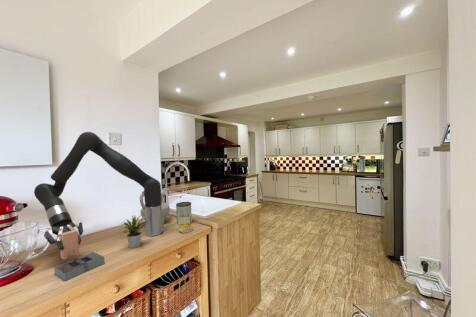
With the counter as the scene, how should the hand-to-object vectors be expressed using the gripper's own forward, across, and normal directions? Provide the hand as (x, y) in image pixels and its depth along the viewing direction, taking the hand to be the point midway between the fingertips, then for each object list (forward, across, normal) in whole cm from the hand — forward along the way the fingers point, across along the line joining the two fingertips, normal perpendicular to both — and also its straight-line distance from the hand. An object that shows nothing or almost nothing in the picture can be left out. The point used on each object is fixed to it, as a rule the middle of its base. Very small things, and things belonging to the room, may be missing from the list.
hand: (71, 246), depth 89 cm
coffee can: (+11, +62, +1) cm, 63 cm away
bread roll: (+19, +52, -7) cm, 56 cm away
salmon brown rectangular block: (+2, 0, +5) cm, 5 cm away
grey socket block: (+12, 0, -1) cm, 12 cm away
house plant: (+13, +23, -1) cm, 26 cm away
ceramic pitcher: (-3, +53, +15) cm, 55 cm away
